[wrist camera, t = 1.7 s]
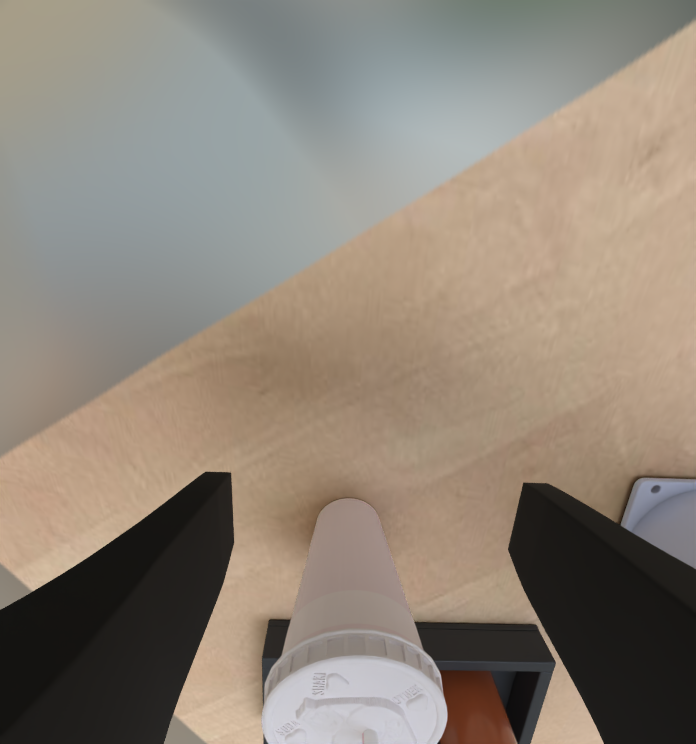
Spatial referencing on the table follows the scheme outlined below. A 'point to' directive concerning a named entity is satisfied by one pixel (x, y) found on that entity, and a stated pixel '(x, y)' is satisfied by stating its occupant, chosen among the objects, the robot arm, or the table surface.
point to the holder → (473, 662)
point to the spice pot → (474, 709)
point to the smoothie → (352, 646)
